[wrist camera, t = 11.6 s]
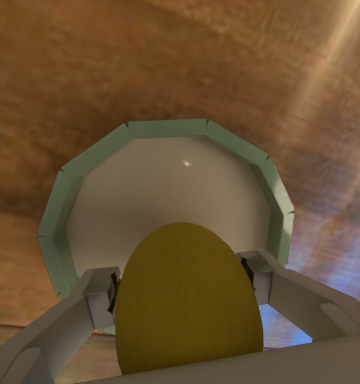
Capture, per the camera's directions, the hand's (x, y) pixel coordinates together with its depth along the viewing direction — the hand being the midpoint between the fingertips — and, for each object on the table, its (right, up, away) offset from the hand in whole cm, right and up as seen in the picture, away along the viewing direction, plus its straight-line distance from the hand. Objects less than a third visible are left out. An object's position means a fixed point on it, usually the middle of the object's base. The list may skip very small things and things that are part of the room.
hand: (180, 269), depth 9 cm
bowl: (-1, +2, +7) cm, 8 cm away
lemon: (0, +1, +3) cm, 3 cm away
